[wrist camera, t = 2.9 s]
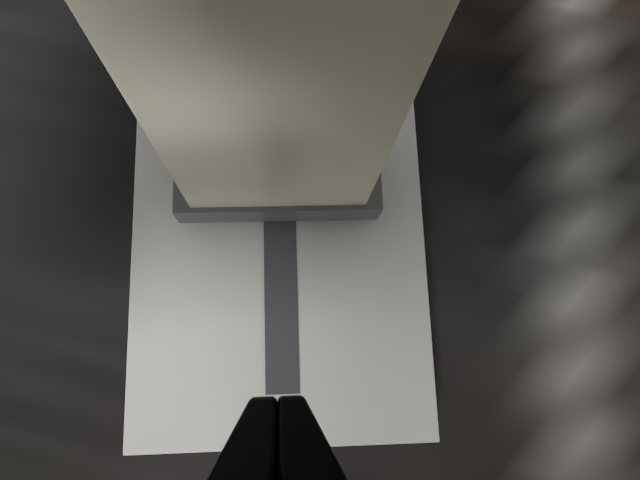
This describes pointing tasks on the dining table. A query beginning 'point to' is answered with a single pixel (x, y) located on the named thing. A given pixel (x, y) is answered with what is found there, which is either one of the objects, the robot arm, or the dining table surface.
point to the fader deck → (279, 318)
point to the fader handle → (269, 96)
